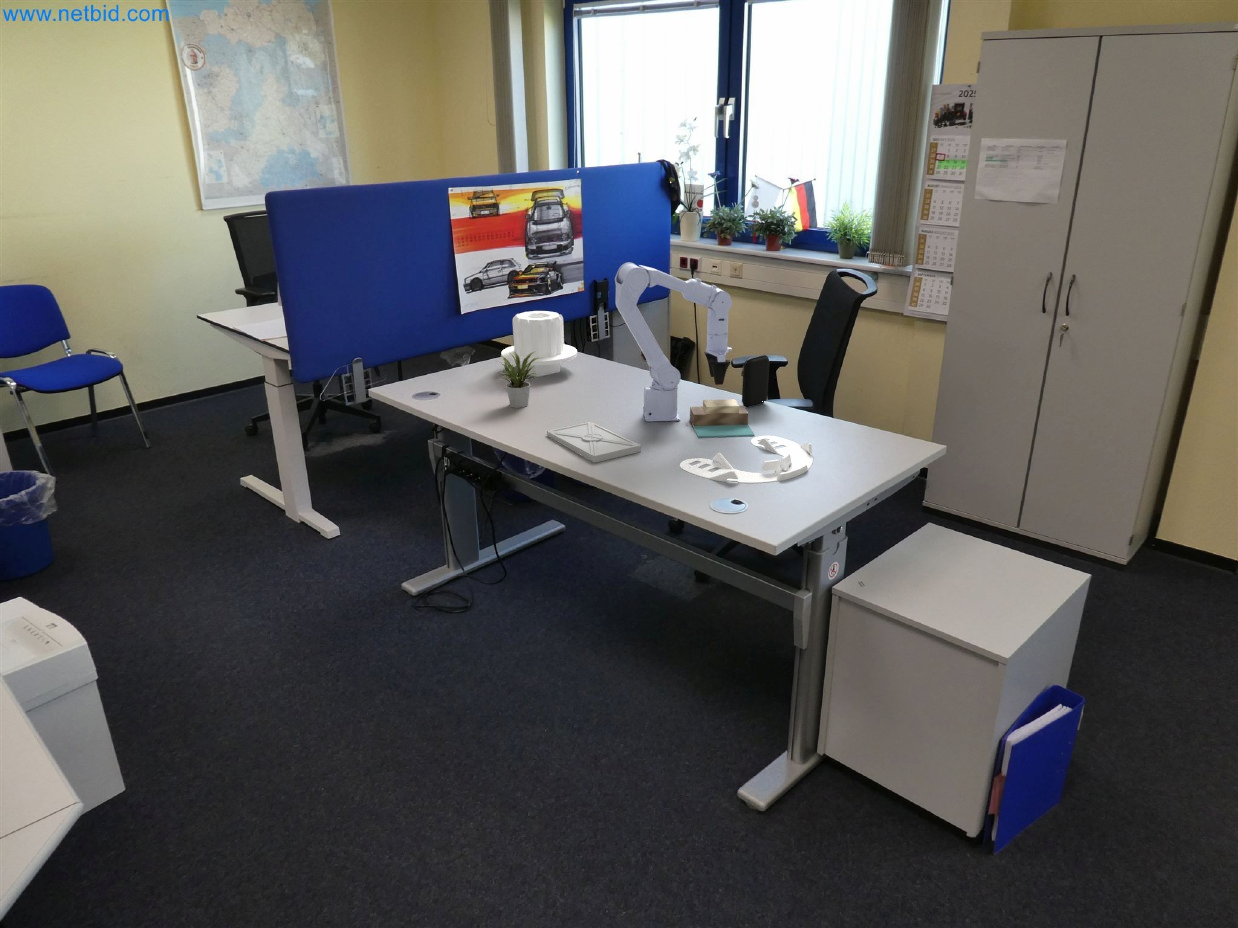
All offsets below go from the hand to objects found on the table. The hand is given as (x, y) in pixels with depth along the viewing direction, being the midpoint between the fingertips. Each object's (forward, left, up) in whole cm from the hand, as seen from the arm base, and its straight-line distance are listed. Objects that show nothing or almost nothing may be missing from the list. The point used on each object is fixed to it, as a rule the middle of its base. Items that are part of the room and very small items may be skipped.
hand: (716, 380), depth 242 cm
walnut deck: (-1, -9, -10) cm, 13 cm away
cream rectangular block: (0, -9, -6) cm, 10 cm away
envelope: (-36, -23, -10) cm, 44 cm away
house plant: (-55, +12, -10) cm, 57 cm away
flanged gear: (-51, +48, -10) cm, 71 cm away
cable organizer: (+4, -39, -10) cm, 40 cm away
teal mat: (-1, -17, -10) cm, 19 cm away
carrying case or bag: (+12, +5, -10) cm, 16 cm away
